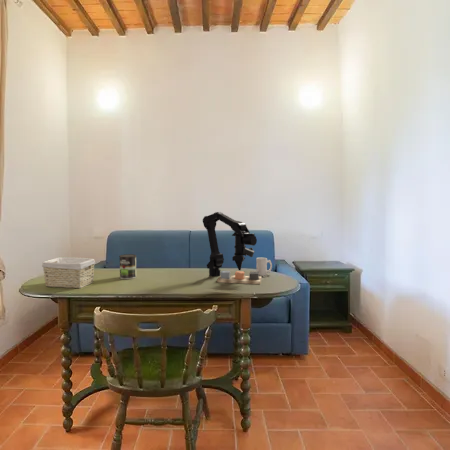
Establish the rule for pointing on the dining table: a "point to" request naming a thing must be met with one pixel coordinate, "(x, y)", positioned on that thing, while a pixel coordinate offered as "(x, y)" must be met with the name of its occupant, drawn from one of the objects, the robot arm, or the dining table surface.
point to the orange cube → (239, 275)
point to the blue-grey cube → (225, 274)
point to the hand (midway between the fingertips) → (239, 270)
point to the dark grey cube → (254, 276)
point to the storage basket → (68, 272)
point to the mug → (263, 266)
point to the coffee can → (127, 266)
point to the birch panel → (239, 280)
